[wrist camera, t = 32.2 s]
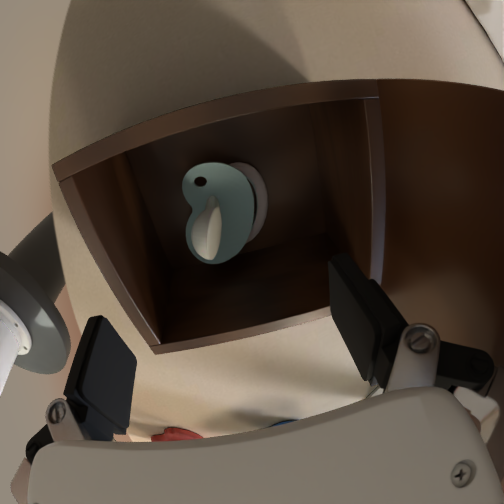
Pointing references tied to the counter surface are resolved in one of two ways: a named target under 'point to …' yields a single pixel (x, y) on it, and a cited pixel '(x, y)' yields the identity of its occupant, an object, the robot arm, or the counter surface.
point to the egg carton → (491, 20)
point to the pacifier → (223, 209)
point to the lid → (445, 209)
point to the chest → (278, 213)
